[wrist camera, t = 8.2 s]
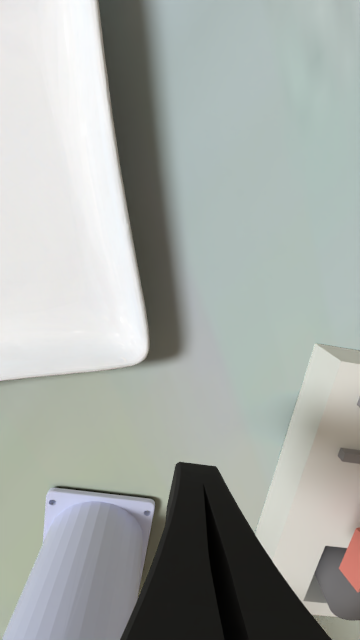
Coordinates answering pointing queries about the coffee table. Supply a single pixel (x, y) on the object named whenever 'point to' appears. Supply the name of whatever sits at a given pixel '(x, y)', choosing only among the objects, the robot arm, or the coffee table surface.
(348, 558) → the plate
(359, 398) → the panel
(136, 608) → the robot arm
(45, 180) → the salad plate
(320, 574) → the button
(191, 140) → the coffee table surface
